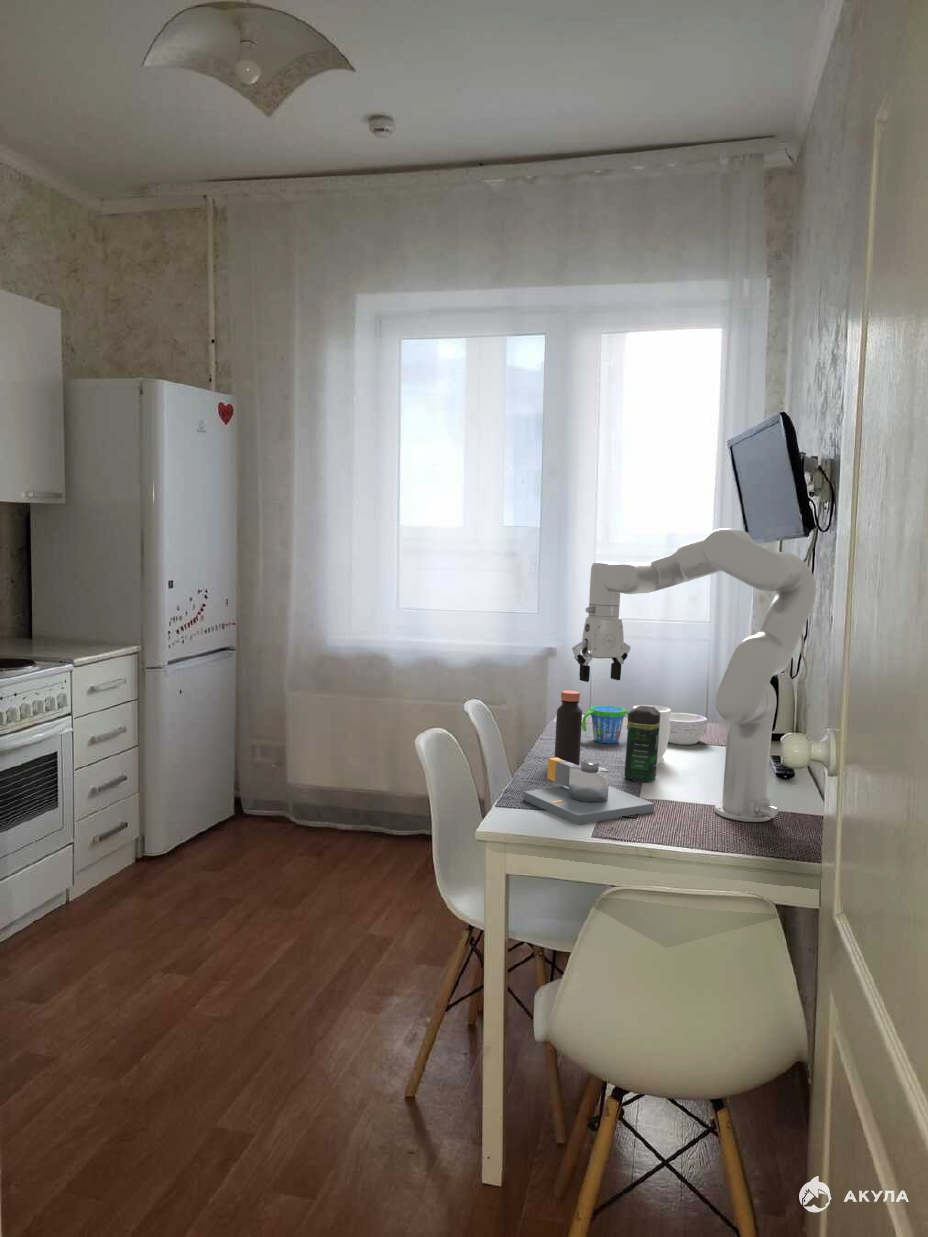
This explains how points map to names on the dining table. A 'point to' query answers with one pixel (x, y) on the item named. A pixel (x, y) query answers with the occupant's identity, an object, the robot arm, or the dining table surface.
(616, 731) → the snack cup
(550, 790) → the mounting board
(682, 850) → the dining table surface
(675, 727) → the white round hollow piece
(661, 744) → the white cup
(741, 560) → the robot arm
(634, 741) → the coffee jar
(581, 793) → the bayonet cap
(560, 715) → the bottle
